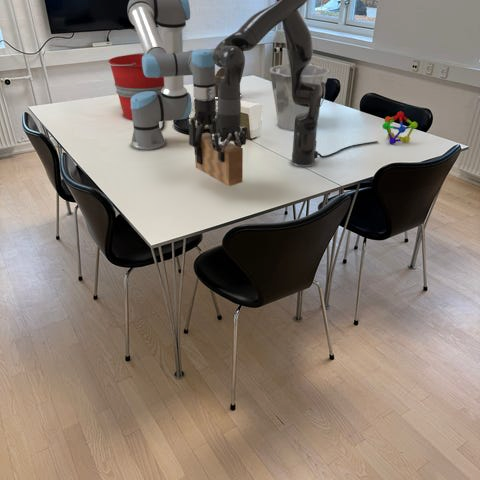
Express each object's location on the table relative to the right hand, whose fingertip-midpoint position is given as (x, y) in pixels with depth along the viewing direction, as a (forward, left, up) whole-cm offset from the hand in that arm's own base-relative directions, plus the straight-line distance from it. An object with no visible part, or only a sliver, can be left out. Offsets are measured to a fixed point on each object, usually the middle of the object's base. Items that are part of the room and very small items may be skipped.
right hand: (229, 159), depth 153 cm
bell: (-101, -100, -15) cm, 143 cm away
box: (-1, -7, -8) cm, 11 cm away
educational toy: (-96, +17, -15) cm, 99 cm away
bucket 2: (-85, -34, -15) cm, 93 cm away
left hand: (-2, -14, -5) cm, 15 cm away
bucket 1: (-43, -107, -15) cm, 116 cm away
